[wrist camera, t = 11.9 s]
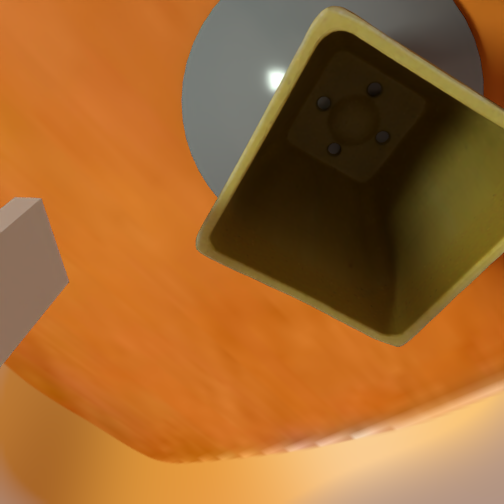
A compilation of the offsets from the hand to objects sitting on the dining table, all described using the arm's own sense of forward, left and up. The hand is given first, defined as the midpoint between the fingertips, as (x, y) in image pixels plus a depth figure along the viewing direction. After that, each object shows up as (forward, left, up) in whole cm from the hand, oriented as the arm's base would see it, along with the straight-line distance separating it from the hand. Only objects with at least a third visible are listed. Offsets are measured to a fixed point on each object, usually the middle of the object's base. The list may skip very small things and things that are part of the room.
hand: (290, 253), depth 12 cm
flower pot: (+2, 0, -13) cm, 13 cm away
